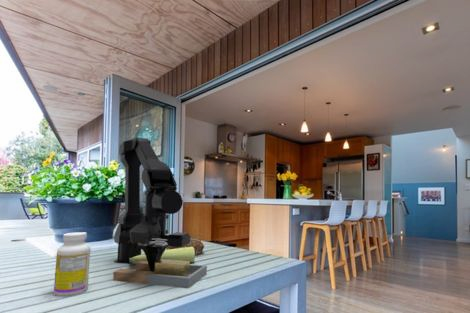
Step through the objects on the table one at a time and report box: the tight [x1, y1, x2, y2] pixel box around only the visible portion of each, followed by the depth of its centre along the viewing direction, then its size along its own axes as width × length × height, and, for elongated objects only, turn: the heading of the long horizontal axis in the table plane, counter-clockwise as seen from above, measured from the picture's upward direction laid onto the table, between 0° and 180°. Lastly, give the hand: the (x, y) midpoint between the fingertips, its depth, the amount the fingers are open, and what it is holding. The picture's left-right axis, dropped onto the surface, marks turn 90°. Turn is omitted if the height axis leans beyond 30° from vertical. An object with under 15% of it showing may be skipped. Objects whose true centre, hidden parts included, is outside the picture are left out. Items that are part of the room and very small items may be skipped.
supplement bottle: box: [53, 231, 91, 297], centre depth 63 cm, size 7×7×13 cm
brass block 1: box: [155, 259, 176, 275], centre depth 73 cm, size 4×4×4 cm
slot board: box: [112, 261, 155, 285], centre depth 75 cm, size 10×12×2 cm
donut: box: [165, 238, 205, 256], centre depth 103 cm, size 14×14×5 cm
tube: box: [129, 247, 196, 264], centre depth 87 cm, size 6×5×20 cm
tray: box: [146, 263, 208, 289], centre depth 72 cm, size 11×12×2 cm
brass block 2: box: [169, 260, 191, 277], centre depth 72 cm, size 4×4×4 cm
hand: (152, 271), depth 74 cm, fingers closed
